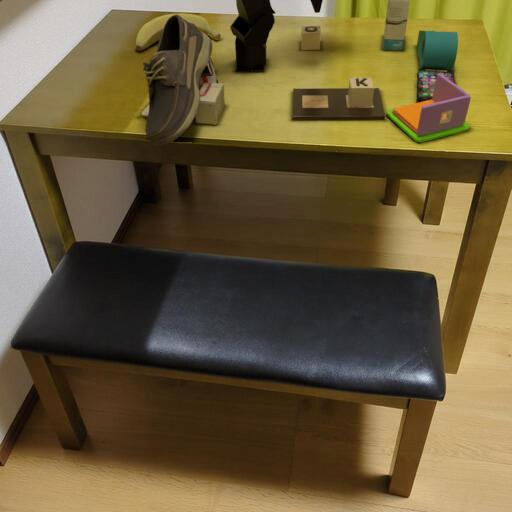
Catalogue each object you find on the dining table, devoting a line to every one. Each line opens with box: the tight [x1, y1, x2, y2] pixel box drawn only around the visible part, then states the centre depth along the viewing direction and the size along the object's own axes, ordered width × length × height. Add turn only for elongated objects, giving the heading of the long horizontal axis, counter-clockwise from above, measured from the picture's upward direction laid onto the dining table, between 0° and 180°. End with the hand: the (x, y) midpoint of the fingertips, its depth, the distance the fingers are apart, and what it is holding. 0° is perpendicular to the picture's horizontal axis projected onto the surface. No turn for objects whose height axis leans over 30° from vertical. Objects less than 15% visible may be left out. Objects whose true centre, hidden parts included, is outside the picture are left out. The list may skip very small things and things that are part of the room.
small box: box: [194, 82, 226, 126], centre depth 116 cm, size 5×4×8 cm
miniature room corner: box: [386, 74, 472, 143], centre depth 110 cm, size 12×12×7 cm
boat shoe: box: [141, 15, 213, 147], centre depth 111 cm, size 11×29×11 cm
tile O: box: [300, 25, 322, 51], centre depth 140 cm, size 4×4×4 cm
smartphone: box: [416, 67, 456, 103], centre depth 122 cm, size 8×1×15 cm
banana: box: [135, 12, 221, 52], centre depth 145 cm, size 14×6×20 cm
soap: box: [141, 104, 149, 118], centre depth 121 cm, size 10×4×1 cm, turn 162°
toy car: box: [199, 56, 219, 91], centre depth 126 cm, size 8×18×8 cm, turn 10°
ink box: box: [382, 0, 411, 51], centre depth 137 cm, size 8×5×12 cm, turn 168°
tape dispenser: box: [416, 30, 459, 70], centre depth 130 cm, size 7×15×8 cm, turn 172°
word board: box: [292, 87, 386, 121], centre depth 119 cm, size 18×12×1 cm, turn 87°
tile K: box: [348, 77, 375, 106], centre depth 117 cm, size 4×4×4 cm
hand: (317, 5), depth 131 cm, fingers open, 9 cm apart
